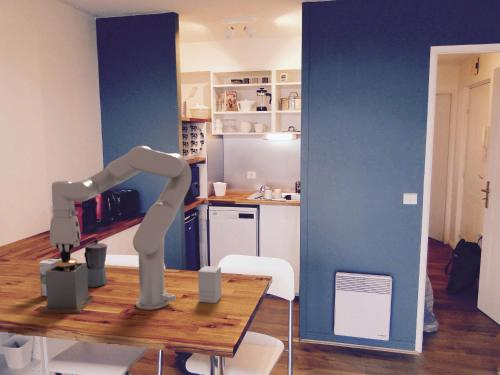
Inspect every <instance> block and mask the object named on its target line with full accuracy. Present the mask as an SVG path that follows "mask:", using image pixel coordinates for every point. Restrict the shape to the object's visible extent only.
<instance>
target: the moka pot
mask: <svg viewBox="0 0 500 375" xmlns="http://www.w3.org/2000/svg"><path fill="white" fill-rule="evenodd" d="M107 249H108V245H107V244H106V243H104V242H99V240H98V239H94V243H91V244H90V243H89V244H86V245H85V246H84V253H83V254H84V255H83V256H84V258H85V259H84V260H85V263H87V277H88V288H89V287H90V288H97V287H103V286H105V285H107V283H108V280H107V275H106V267H105V266H106V260H107V259H106V257H107Z"/></svg>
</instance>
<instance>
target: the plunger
mask: <svg viewBox="0 0 500 375" xmlns="http://www.w3.org/2000/svg"><path fill="white" fill-rule="evenodd" d="M57 260H58V261H57V262H56V267H58V268H65V271H69V267H73V266H76V265H77V263H78V261H77V259H76V258H70V260H69V261H68V262H62V259H57Z"/></svg>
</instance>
